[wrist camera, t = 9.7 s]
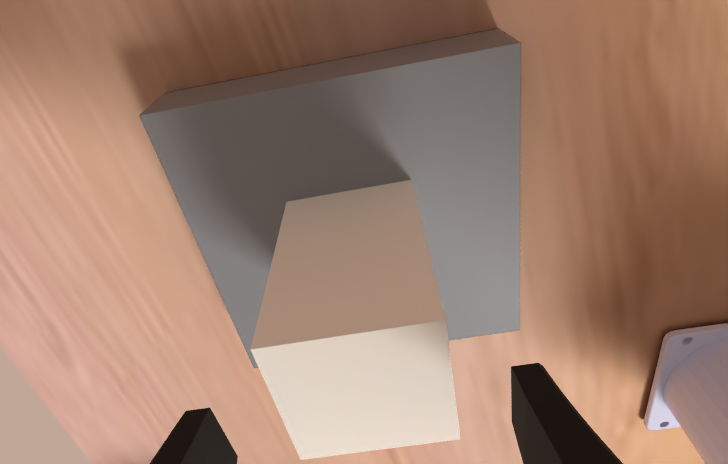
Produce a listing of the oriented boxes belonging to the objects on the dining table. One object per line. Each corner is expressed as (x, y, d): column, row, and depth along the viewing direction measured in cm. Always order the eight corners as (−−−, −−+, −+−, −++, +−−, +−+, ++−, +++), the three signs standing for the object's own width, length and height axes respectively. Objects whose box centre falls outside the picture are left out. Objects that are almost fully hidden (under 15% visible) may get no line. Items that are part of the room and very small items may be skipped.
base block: (498, 28, 16) (520, 42, 14) (504, 292, 22) (519, 330, 20) (165, 92, 17) (139, 115, 15) (262, 329, 23) (253, 368, 21)
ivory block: (411, 179, 16) (446, 320, 10) (426, 279, 19) (460, 438, 13) (286, 201, 17) (250, 349, 11) (316, 296, 19) (300, 459, 13)
